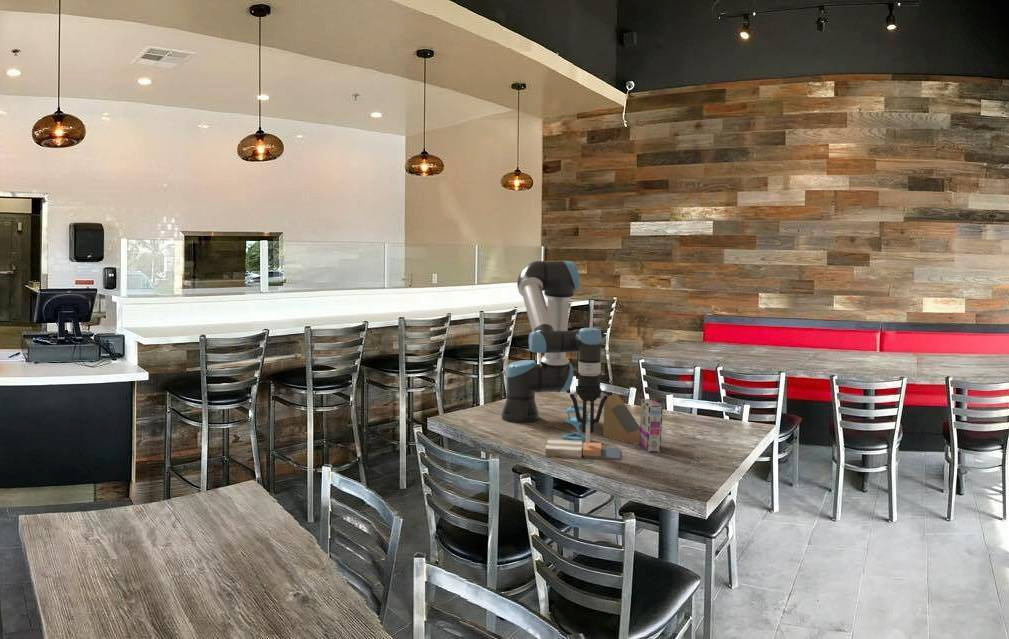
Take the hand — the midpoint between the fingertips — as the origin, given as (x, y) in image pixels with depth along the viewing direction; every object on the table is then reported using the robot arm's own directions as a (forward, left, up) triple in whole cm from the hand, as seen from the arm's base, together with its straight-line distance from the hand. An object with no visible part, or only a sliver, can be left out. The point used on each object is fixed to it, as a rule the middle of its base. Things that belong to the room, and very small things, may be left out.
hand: (587, 442), depth 236 cm
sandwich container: (-21, +14, -4) cm, 26 cm away
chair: (-17, -4, -4) cm, 18 cm away
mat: (0, +5, -4) cm, 6 cm away
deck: (0, -8, -4) cm, 9 cm away
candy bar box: (-10, +22, -4) cm, 24 cm away
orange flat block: (0, +2, -3) cm, 4 cm away
